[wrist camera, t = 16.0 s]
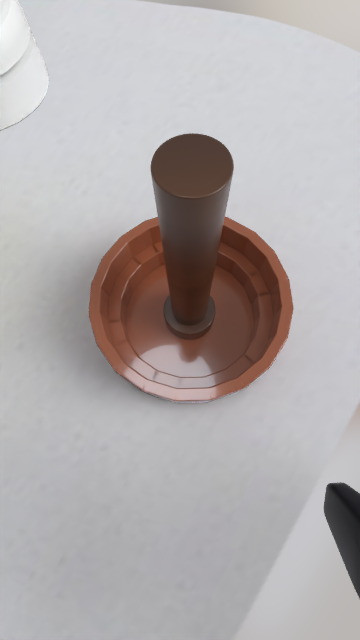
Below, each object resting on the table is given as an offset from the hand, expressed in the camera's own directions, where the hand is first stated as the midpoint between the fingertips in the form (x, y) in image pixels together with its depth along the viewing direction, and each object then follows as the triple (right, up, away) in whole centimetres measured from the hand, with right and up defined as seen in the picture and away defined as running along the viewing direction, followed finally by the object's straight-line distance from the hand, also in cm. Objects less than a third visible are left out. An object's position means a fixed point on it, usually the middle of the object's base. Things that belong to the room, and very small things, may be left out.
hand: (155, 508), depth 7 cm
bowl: (+1, +5, +15) cm, 15 cm away
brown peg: (+1, +5, +14) cm, 15 cm away
